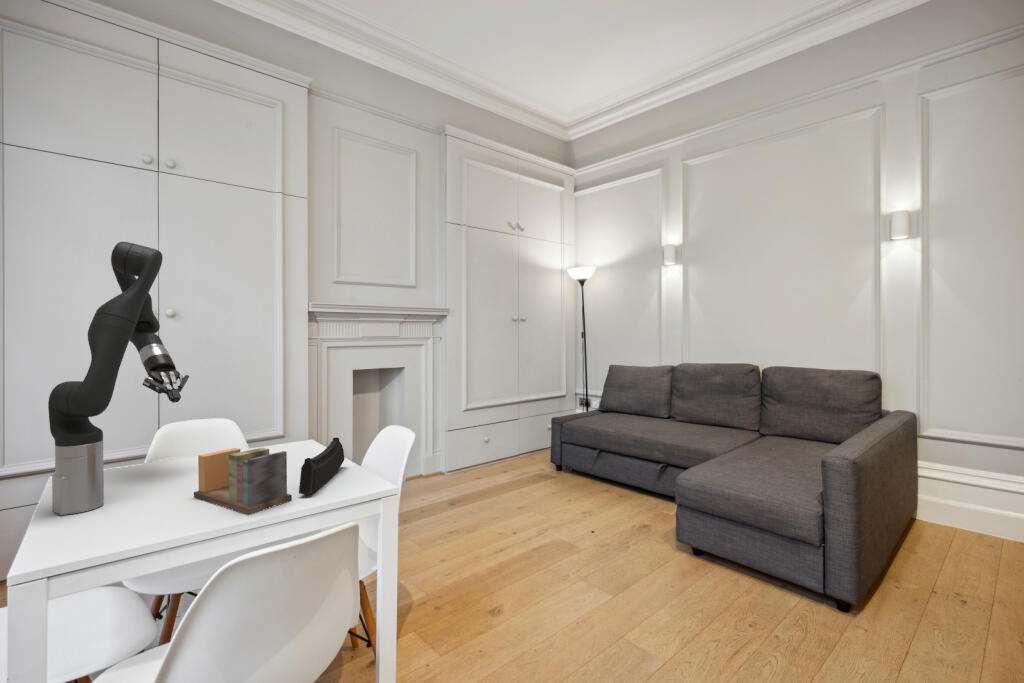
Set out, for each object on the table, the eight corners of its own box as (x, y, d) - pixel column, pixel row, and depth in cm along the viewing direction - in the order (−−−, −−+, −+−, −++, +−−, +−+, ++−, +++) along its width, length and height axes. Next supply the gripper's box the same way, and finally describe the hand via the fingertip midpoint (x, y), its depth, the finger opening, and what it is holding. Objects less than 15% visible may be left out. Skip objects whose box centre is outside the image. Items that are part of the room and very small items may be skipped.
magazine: (306, 468, 126) (340, 418, 155) (294, 468, 126) (330, 418, 155) (314, 521, 131) (345, 463, 160) (302, 521, 131) (335, 463, 160)
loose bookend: (204, 492, 128) (204, 456, 128) (198, 491, 130) (198, 455, 130) (240, 482, 137) (240, 449, 137) (234, 481, 138) (234, 447, 138)
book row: (248, 515, 116) (247, 461, 116) (193, 497, 129) (193, 449, 129) (291, 500, 127) (291, 451, 127) (237, 485, 140) (237, 440, 139)
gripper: (136, 353, 144) (156, 395, 138) (183, 352, 156) (203, 390, 150) (128, 370, 147) (147, 411, 141) (175, 367, 158) (195, 405, 152)
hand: (176, 400), depth 145 cm, fingers closed
